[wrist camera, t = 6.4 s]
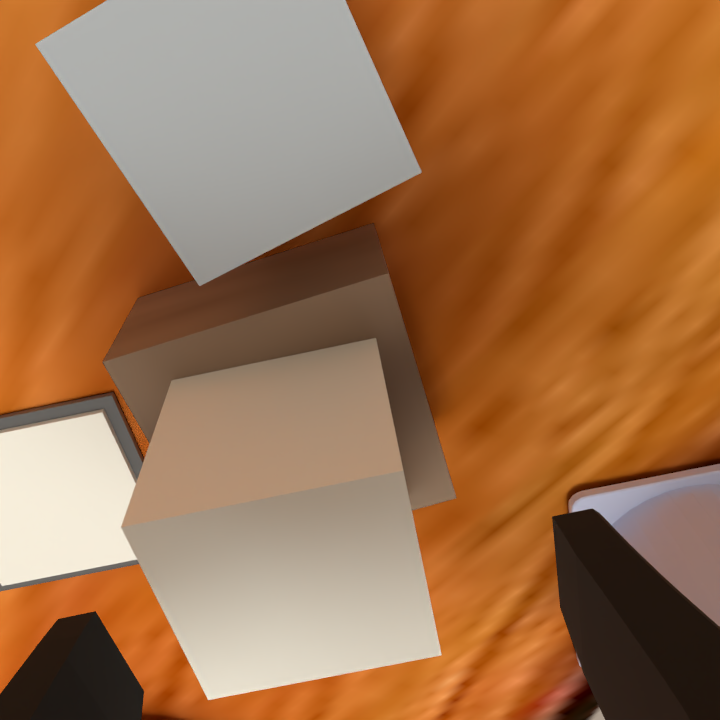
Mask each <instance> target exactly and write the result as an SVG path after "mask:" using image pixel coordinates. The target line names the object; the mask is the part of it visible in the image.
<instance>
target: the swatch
mask: <svg viewBox="0 0 720 720" xmlns="http://www.w3.org/2000/svg"><path fill="white" fill-rule="evenodd" d="M143 462H144V458H143V456H142V454H141V452H140V449H139V447H138V445H137V443H136V441H135V438H134V436H133V434H132V432H131V429H130V427H129V425H128V423H127V421H126V418H125V416H124V414H123V412H122V409H121V407H120V405H119V403H118V401H117V398H116V396H115V394H114V392H110V393H106V394H101V395H96V396H91V397H86V398H81V399H77V400H72V401H67V402H62V403H57V404H52V405H48V406H43V407H38V408H33V409H28V410H23V411H19V412H14V413H9V414H4V415H0V591H4V590H9V589H14V588H19V587H25V586H30V585H35V584H40V583H45V582H50V581H55V580H60V579H65V578H70V577H75V576H80V575H85V574H90V573H95V572H101V571H106V570H111V569H116V568H121V567H126V566H131V565H136V564H139V562H138V560H137V558H136V556H135V554H134V552H133V550H132V548H131V546H130V544H129V542H128V540H127V538H126V536H125V534H124V532H123V530H122V528H121V526H122V523H123V520H124V517H125V514H126V511H127V508H128V505H129V502H130V499H131V497H132V494H133V491H134V488H135V485H136V482H137V479H138V476H139V473H140V470H141V468H142V465H143Z"/></svg>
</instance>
